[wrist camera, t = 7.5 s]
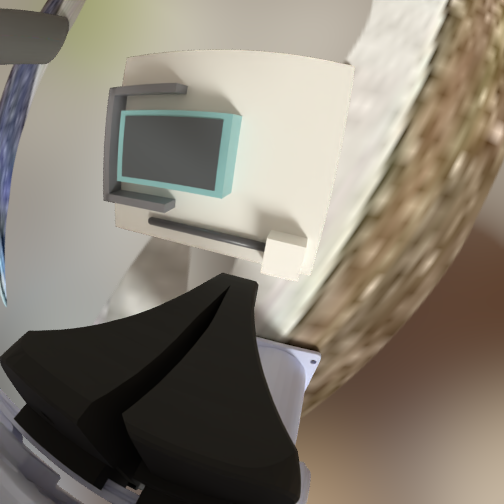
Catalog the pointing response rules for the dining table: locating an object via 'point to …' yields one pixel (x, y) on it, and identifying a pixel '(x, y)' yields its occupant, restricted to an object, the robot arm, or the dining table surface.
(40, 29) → the bottle
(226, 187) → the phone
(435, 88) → the dining table surface
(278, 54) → the board
